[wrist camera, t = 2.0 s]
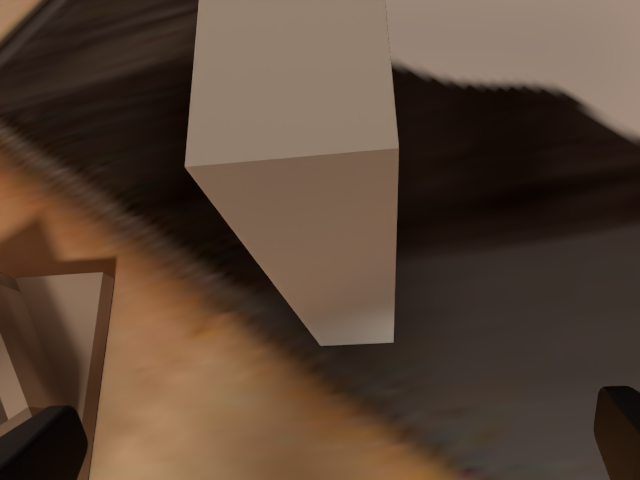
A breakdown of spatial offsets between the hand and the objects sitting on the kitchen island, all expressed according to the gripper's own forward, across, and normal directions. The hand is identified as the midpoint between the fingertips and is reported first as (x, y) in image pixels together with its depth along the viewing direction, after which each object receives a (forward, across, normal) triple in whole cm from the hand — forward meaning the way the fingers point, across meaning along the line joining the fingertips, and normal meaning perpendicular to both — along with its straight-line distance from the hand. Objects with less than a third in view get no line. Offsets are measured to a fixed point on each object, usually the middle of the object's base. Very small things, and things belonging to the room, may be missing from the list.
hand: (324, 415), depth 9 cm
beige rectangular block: (+12, 0, +5) cm, 13 cm away
